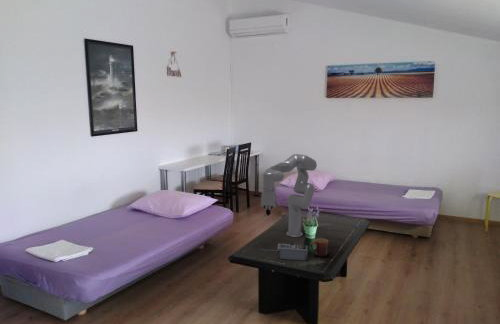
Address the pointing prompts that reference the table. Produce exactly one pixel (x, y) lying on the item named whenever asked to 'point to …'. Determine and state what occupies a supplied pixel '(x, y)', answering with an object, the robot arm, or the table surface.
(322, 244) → the mug
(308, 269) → the table surface
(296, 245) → the lock block
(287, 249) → the grey open bin
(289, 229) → the robot arm
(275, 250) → the track
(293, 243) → the lock bar
